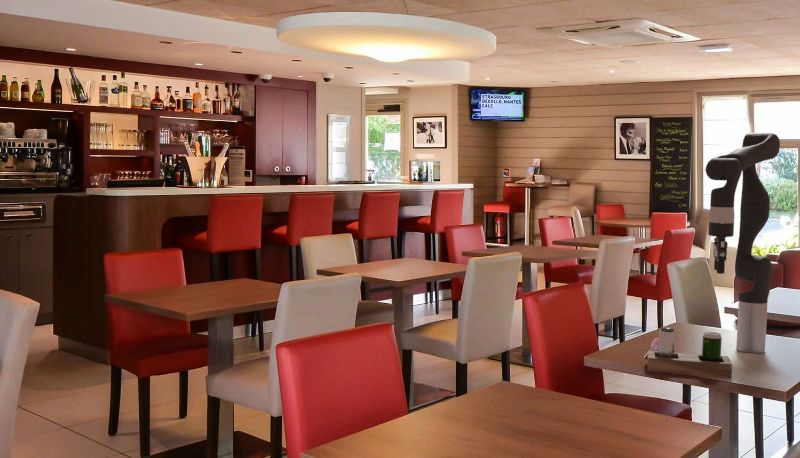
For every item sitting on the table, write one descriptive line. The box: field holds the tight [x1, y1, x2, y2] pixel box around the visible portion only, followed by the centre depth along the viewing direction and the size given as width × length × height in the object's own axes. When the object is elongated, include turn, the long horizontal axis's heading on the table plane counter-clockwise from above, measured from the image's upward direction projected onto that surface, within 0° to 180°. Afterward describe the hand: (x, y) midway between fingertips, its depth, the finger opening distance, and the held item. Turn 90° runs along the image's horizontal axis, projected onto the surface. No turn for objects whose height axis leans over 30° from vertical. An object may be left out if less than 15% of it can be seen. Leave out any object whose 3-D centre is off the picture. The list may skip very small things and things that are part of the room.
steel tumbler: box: [658, 326, 676, 359], centre depth 255 cm, size 5×5×13 cm
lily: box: [643, 337, 659, 359], centre depth 271 cm, size 12×12×10 cm
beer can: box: [701, 331, 723, 362], centre depth 251 cm, size 5×5×12 cm
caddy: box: [646, 349, 733, 379], centre depth 253 cm, size 11×24×5 cm, turn 74°
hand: (719, 271), depth 262 cm, fingers open, 8 cm apart
